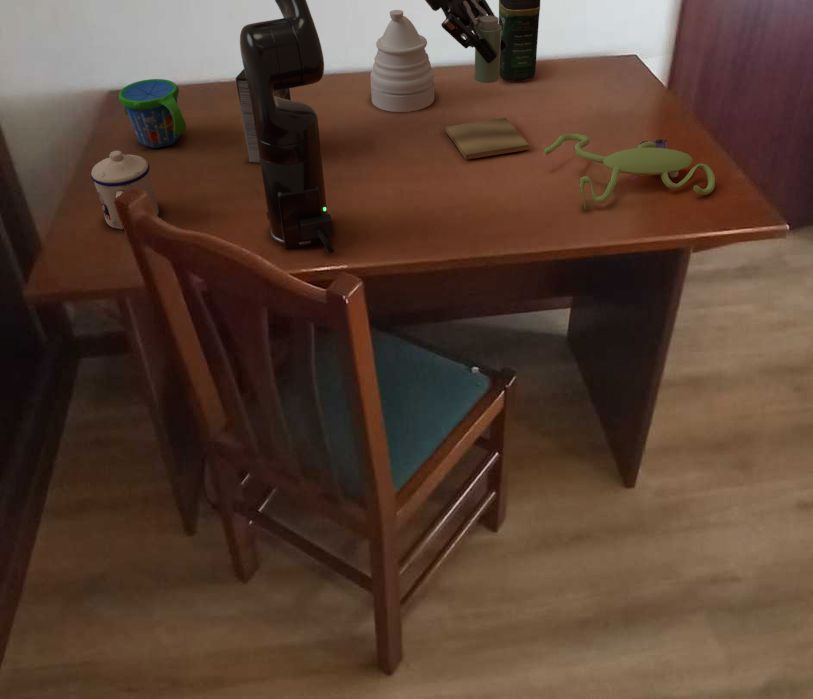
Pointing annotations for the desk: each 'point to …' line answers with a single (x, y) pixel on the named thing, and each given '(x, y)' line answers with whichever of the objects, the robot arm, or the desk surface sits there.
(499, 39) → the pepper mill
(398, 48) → the honey pot
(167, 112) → the snack cup
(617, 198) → the desk surface
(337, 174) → the desk surface
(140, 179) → the teacup with lid
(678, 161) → the figurine
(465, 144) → the plate
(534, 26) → the coffee jar
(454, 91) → the desk surface
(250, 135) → the coffee box
